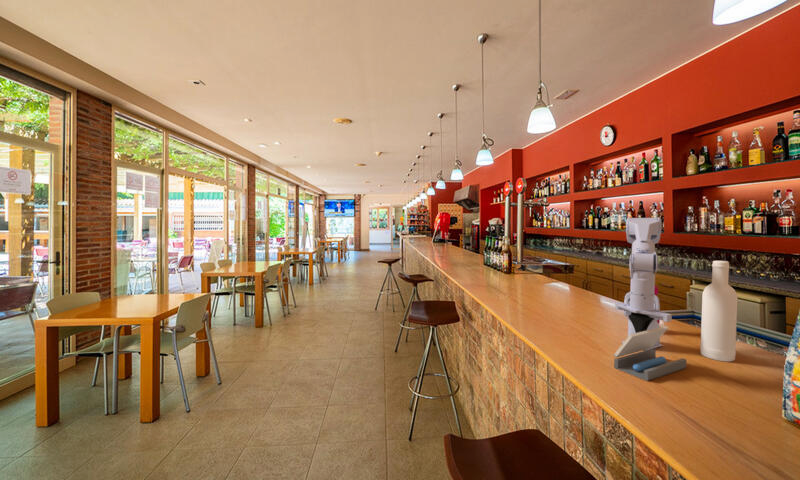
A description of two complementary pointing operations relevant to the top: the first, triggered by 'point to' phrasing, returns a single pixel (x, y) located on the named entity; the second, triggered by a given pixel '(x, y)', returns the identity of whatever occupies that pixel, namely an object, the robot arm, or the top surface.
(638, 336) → the panel
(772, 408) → the top surface
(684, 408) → the top surface
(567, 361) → the top surface
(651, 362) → the blue rounded capsule rod
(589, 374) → the top surface
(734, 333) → the bottle
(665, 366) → the cable duct
